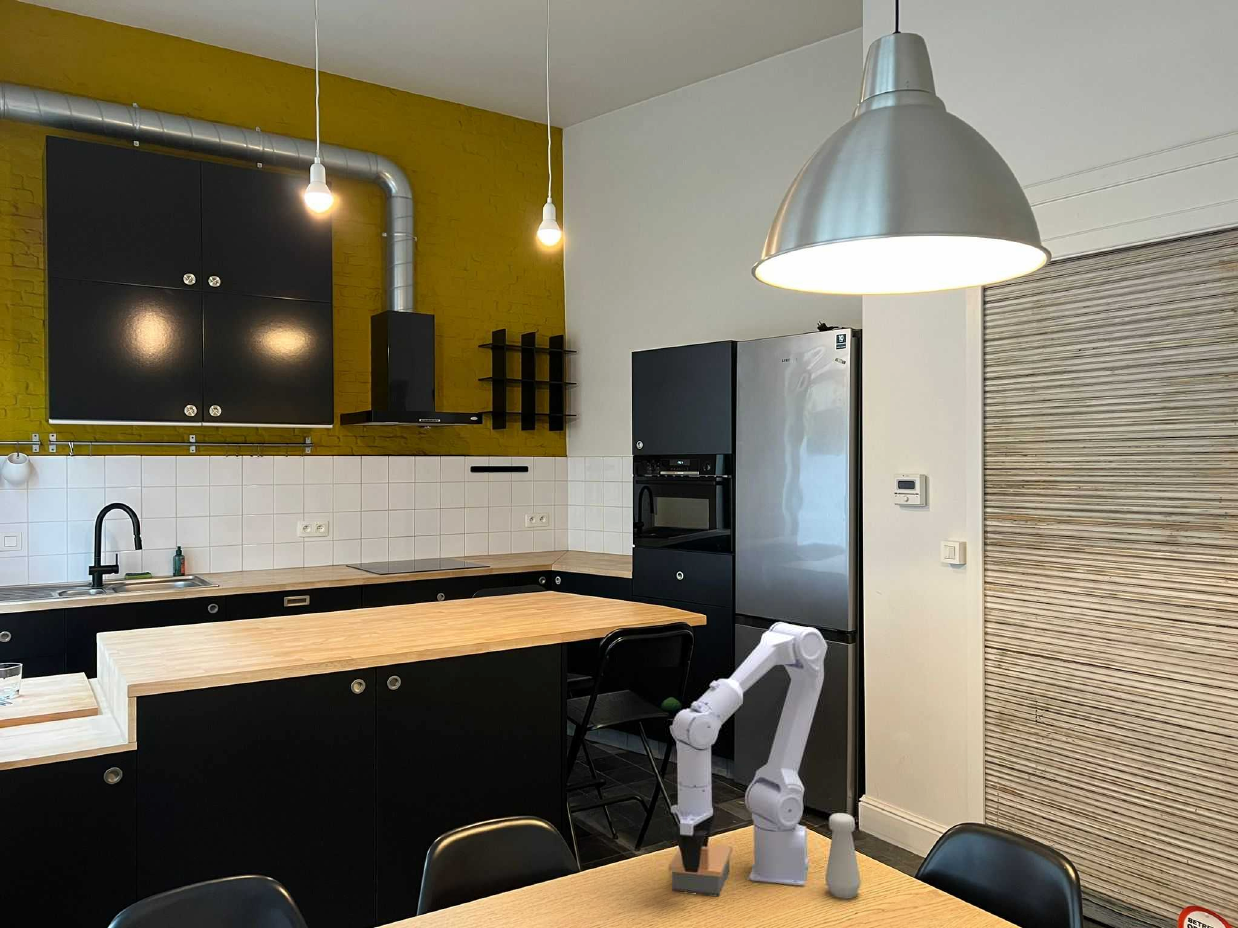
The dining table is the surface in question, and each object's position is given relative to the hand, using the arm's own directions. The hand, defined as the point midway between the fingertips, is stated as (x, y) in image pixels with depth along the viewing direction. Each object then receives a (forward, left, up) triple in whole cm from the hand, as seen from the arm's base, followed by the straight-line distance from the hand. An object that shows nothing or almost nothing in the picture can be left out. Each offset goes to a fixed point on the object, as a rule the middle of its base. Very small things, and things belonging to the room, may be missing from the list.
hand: (695, 863), depth 156 cm
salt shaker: (-24, -6, -5) cm, 25 cm away
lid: (0, -5, -1) cm, 5 cm away
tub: (0, -5, -5) cm, 7 cm away
